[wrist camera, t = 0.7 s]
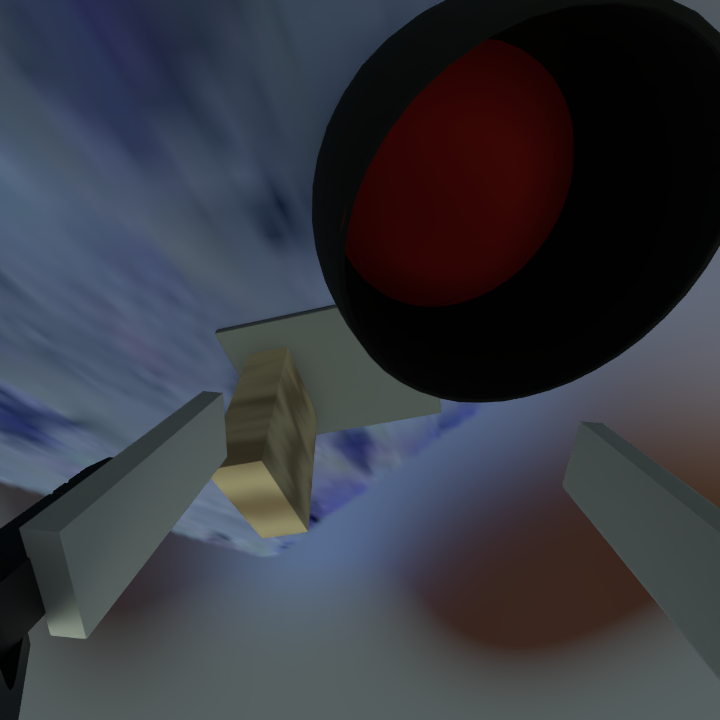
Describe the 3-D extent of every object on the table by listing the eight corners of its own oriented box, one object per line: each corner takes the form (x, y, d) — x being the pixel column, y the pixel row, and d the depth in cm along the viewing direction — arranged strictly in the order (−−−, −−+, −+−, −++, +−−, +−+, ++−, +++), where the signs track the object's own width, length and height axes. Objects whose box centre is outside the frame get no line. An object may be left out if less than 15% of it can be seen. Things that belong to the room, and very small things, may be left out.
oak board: (248, 354, 32) (204, 470, 22) (287, 346, 32) (261, 460, 22) (284, 422, 38) (262, 538, 28) (317, 416, 38) (307, 531, 28)
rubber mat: (216, 330, 31) (214, 333, 31) (428, 285, 29) (429, 287, 29) (277, 437, 41) (276, 441, 40) (439, 408, 39) (441, 412, 38)
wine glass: (353, 251, 27) (369, 451, 11) (305, 96, 21) (192, 59, 5) (481, 211, 26) (704, 377, 10) (469, 33, 20) (1005, -287, 4)
